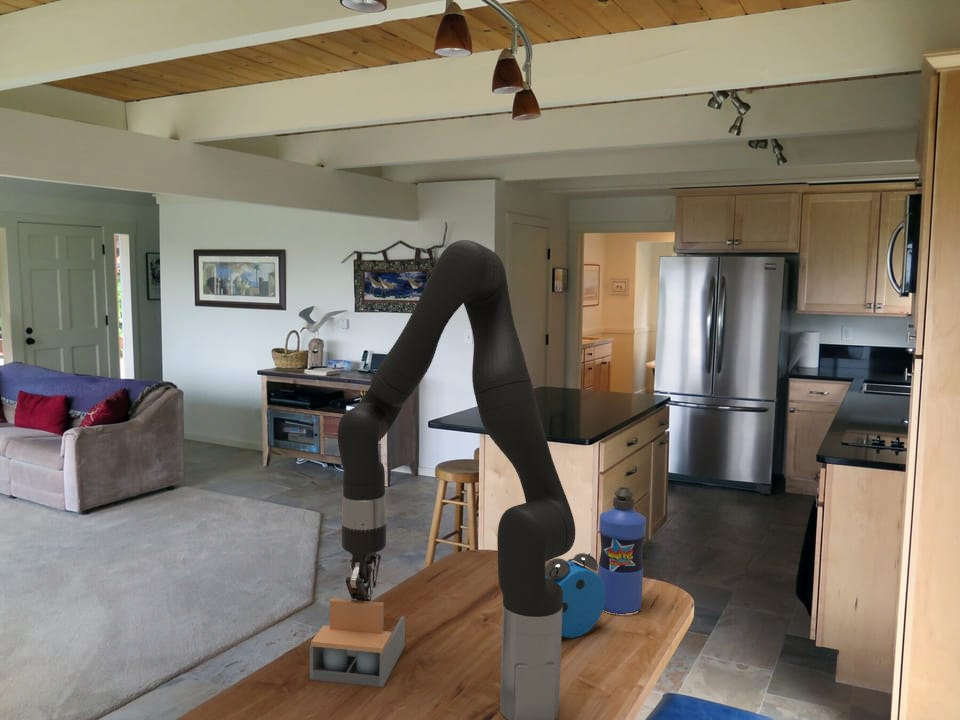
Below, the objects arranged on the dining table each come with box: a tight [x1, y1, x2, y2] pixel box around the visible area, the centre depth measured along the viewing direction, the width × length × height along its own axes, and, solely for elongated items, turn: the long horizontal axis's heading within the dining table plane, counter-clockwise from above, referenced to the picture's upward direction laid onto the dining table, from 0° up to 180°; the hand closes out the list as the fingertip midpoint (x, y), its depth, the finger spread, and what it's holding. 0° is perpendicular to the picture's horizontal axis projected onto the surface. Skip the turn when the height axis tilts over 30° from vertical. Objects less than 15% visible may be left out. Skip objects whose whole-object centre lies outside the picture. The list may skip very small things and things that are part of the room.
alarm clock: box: [545, 552, 605, 639], centre depth 149 cm, size 13×6×15 cm, turn 122°
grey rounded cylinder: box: [323, 647, 348, 672], centre depth 131 cm, size 4×4×5 cm
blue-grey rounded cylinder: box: [356, 651, 380, 676], centre depth 130 cm, size 4×4×5 cm
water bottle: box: [597, 486, 647, 614], centre depth 161 cm, size 9×9×25 cm
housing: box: [309, 615, 406, 688], centre depth 135 cm, size 14×12×7 cm
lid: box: [310, 597, 393, 653], centre depth 130 cm, size 6×12×6 cm, turn 81°
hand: (363, 617), depth 136 cm, fingers closed
